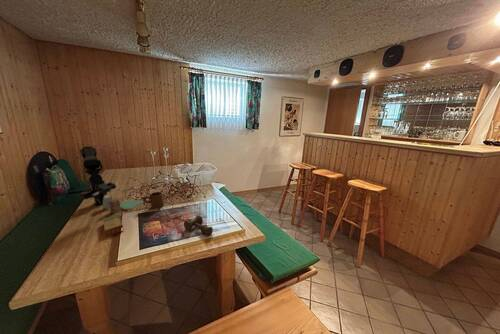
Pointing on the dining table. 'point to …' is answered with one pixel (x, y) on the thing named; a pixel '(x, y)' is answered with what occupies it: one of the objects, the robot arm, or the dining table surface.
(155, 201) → the mug
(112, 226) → the carton
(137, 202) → the felt mat
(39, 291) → the dining table surface
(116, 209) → the walnut block
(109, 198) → the grey block
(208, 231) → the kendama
